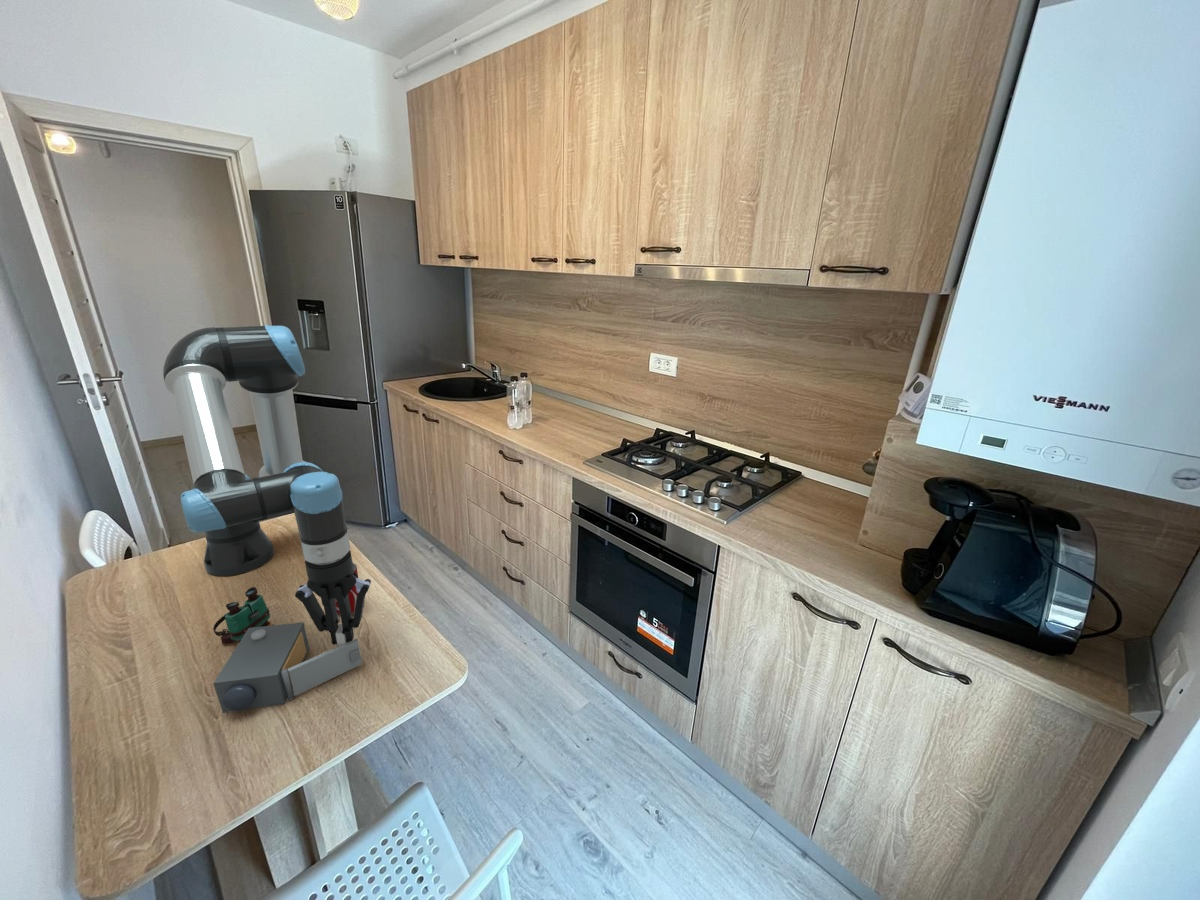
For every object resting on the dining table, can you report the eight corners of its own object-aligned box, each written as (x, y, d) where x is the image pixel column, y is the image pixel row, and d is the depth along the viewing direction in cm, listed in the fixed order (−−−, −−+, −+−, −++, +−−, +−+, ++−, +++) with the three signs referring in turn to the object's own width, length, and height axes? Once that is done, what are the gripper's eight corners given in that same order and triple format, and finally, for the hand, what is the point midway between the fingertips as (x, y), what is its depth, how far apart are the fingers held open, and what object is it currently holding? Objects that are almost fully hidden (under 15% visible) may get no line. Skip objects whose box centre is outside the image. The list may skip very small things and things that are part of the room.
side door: (361, 662, 99) (356, 637, 96) (363, 667, 98) (359, 641, 95) (287, 697, 90) (280, 670, 88) (289, 702, 89) (282, 675, 87)
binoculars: (230, 581, 107) (268, 584, 104) (245, 620, 110) (282, 624, 108) (191, 607, 98) (231, 611, 96) (208, 648, 102) (247, 653, 100)
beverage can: (368, 605, 115) (361, 562, 111) (347, 620, 110) (339, 576, 106) (351, 598, 117) (344, 556, 113) (329, 612, 112) (321, 569, 108)
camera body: (256, 655, 100) (247, 624, 97) (310, 648, 102) (303, 618, 99) (218, 720, 86) (207, 687, 83) (282, 711, 88) (273, 678, 85)
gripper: (280, 569, 84) (304, 672, 92) (361, 563, 87) (376, 664, 95) (296, 546, 91) (316, 644, 99) (370, 541, 94) (383, 637, 102)
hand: (345, 654), depth 97 cm, fingers closed
